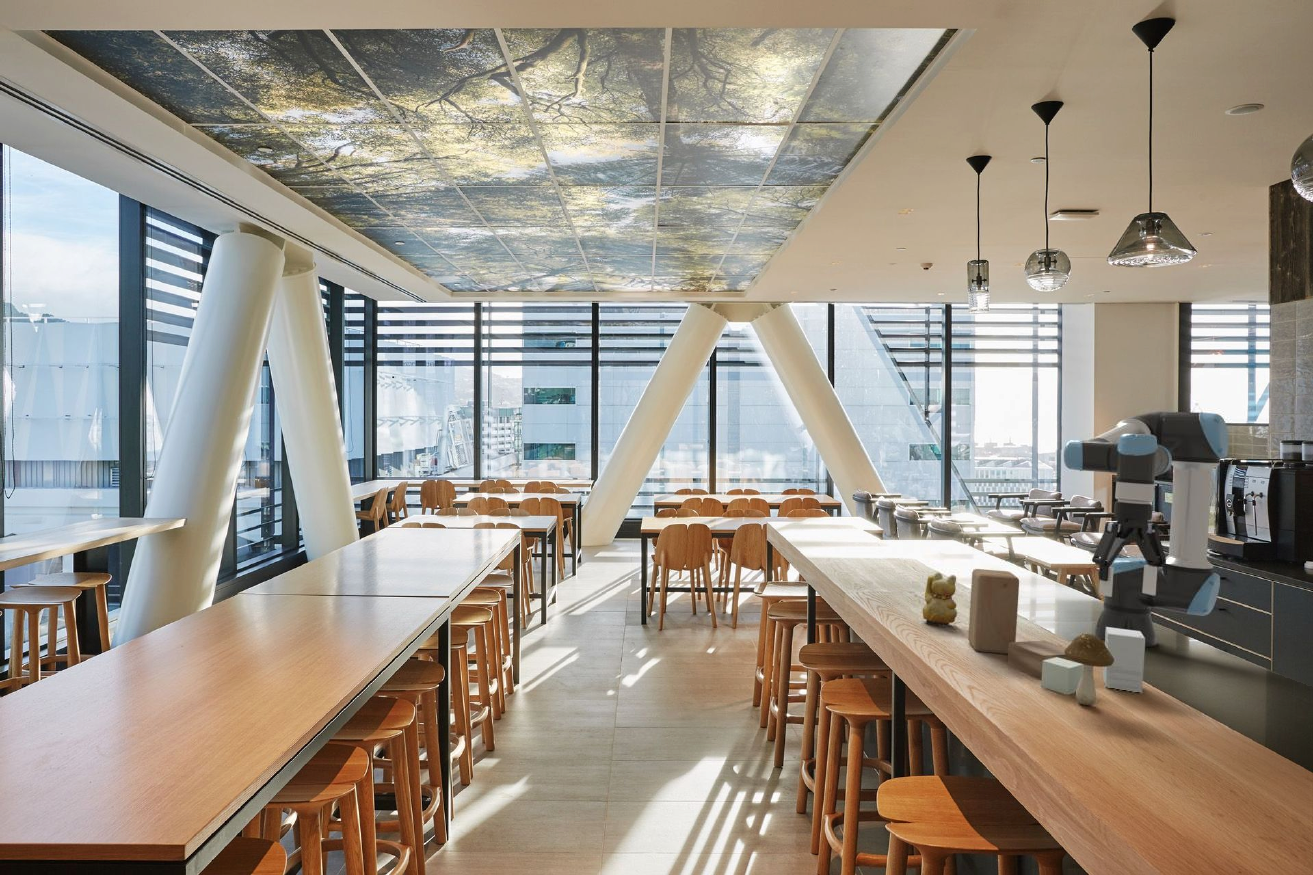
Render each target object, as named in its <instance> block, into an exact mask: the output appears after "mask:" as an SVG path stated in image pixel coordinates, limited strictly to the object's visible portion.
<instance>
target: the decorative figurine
mask: <svg viewBox="0 0 1313 875" xmlns="http://www.w3.org/2000/svg"><path fill="white" fill-rule="evenodd" d="M926 580H927V582H926V587H925V591H924V601H925V604H924V605H923V607H922V618H923V620H926V622H925V624H926V625H928V624H929V625H933V626H936V627H946V626H948V625H950V624H952V623H955V621H956V618H957V615H958V611H957V609H956V608H957V603H956V602H955V600H954V599H953V597H952V596H954V595H955V593H956V591H957V590H956V589H957V588H956V582H957V576H956V575H954V574H951V575H949V576H948V577H947V578H943V574H942V573H941V572H940V571H936V572H934V574H933V575H929V576H928V577H927V579H926Z"/></svg>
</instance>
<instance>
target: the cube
mask: <svg viewBox="0 0 1313 875" xmlns="http://www.w3.org/2000/svg"><path fill="white" fill-rule="evenodd" d="M1083 667H1084V666H1083V664H1081V663H1076V662H1073V661H1069V660H1065V659H1062V658H1058V657H1055V658H1051V659H1047V660H1043V665H1042V680H1040V681H1041V683H1040V684H1041V685H1040V687H1041V688H1043V689H1047V690H1049V691H1050V690H1051V691H1054V692H1057V693H1060V694H1063V693H1065V694H1064V695H1066V694H1067V695H1066V696H1069V695H1072V694H1071V693H1073V694H1076V693H1075V692H1076V690H1077V688H1078V685H1079V682H1080V679H1081V677H1082V674H1083ZM1068 694H1069V695H1068Z"/></svg>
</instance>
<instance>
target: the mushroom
mask: <svg viewBox="0 0 1313 875" xmlns="http://www.w3.org/2000/svg"><path fill="white" fill-rule="evenodd" d="M1065 648H1066V649H1065V651H1064V652H1065V655H1066V657H1067V658H1069V659H1071V660H1073V661H1075V662H1077V663H1080V664H1083V674H1082V677H1081V679H1080V682H1079V685H1078V688H1077V690H1076V693H1075V699H1076V702H1078V704H1081V705H1084V706H1092V705H1094V704H1095V702H1096V700H1097V692H1096V685H1095V679H1094V678H1095V677H1094V667H1098V668H1102V667H1106V666H1111V665H1112V664H1113V662H1114V658H1113V656H1112V655H1111V653H1110V652H1109V651H1108V649H1107V648H1106V645H1105V641H1104V640H1103V639H1100V638H1098V637H1097V636H1095V634H1092V633H1091V634H1090V633H1084V634H1083V633H1082V634H1080V635H1078V636H1076V637H1074V639H1073V640H1072V642H1071V643H1070V644H1069V645H1068V646H1067V647H1065Z"/></svg>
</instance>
